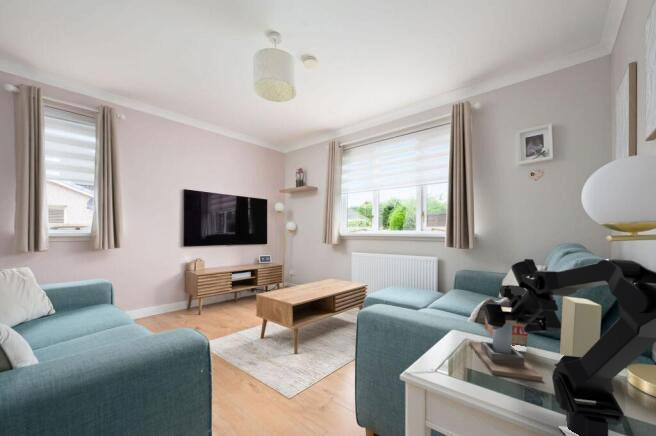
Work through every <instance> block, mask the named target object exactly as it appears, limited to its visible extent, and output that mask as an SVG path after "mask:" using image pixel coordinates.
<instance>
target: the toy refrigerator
mask: <svg viewBox="0 0 656 436" xmlns="http://www.w3.org/2000/svg"><path fill="white" fill-rule="evenodd" d="M561 308H562V309H561V310H562V311H561V324H562V327H561V329H560V347H559V348H560V350H559V355H560V354H561V355H564V356H565V355H566V356H576V357H583V356H584V355H585V354H586V352H587V351H588V350H589V349H590V348H591V347H592V346H593V345H594V344H595V343H596V342H597V341H598V340H599V339H600V338H601V327H602V325H601V324H602V305H601V304H599V303H596V302H594V301H592V300H590V299H588V298H582V297H572V296H562V307H561Z"/></svg>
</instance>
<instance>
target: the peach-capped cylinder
mask: <svg viewBox="0 0 656 436" xmlns="http://www.w3.org/2000/svg"><path fill="white" fill-rule="evenodd" d="M511 340H512V321H508V320H506V323H505V325H503V327H502V328H498V329H493V335H492V343H493V352H494V353H502V354H510V355H511Z"/></svg>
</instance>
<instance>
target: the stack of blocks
mask: <svg viewBox="0 0 656 436" xmlns="http://www.w3.org/2000/svg"><path fill="white" fill-rule="evenodd" d="M501 307H502V310H503V311H508V312H511V309H512V308H511V307H505V306H501ZM526 325H527V324H521V323H517V321H512V340H511V345H512V346H515V345H520V346H525V347H527V348H528V336H529V335H528V333H529V332H525V331H524V328H525V326H526ZM484 328H485V330H486V331H487V332H488V333H490V335H491V336H493V328H492V325H490V324H488V322H487V319H486V315H485V314H484Z"/></svg>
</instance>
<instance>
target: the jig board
mask: <svg viewBox="0 0 656 436" xmlns="http://www.w3.org/2000/svg"><path fill="white" fill-rule="evenodd" d="M480 341H481V342H480ZM480 341H479V342H478V341H471V340H470V341H468V344H469V346H470V348H471V349H472V350H473V352H474V353H475V354H476V355H477V356H478V358H479V359H480V360H481V362H482V364H484V366H485V367H486V368H487V370H488V371H489V372H490V373H491V375H495V376H502V377H509V378H510V377H511V378H518V379H524V380H530V381H538V382H543V376H542V375H541V374H540V373H539V372H538V371H536V369H535V368H533V367H532V366H531V365H530V364H529V363H528V362H527V361H526V360H525V357H524V356H523V354H521V353H520V351H517V350H515V349H514V348H513V347H512V346H511V355H510V354H502V353H494V352H493V342H492V341H484V340H483V341H482V340H480Z"/></svg>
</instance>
